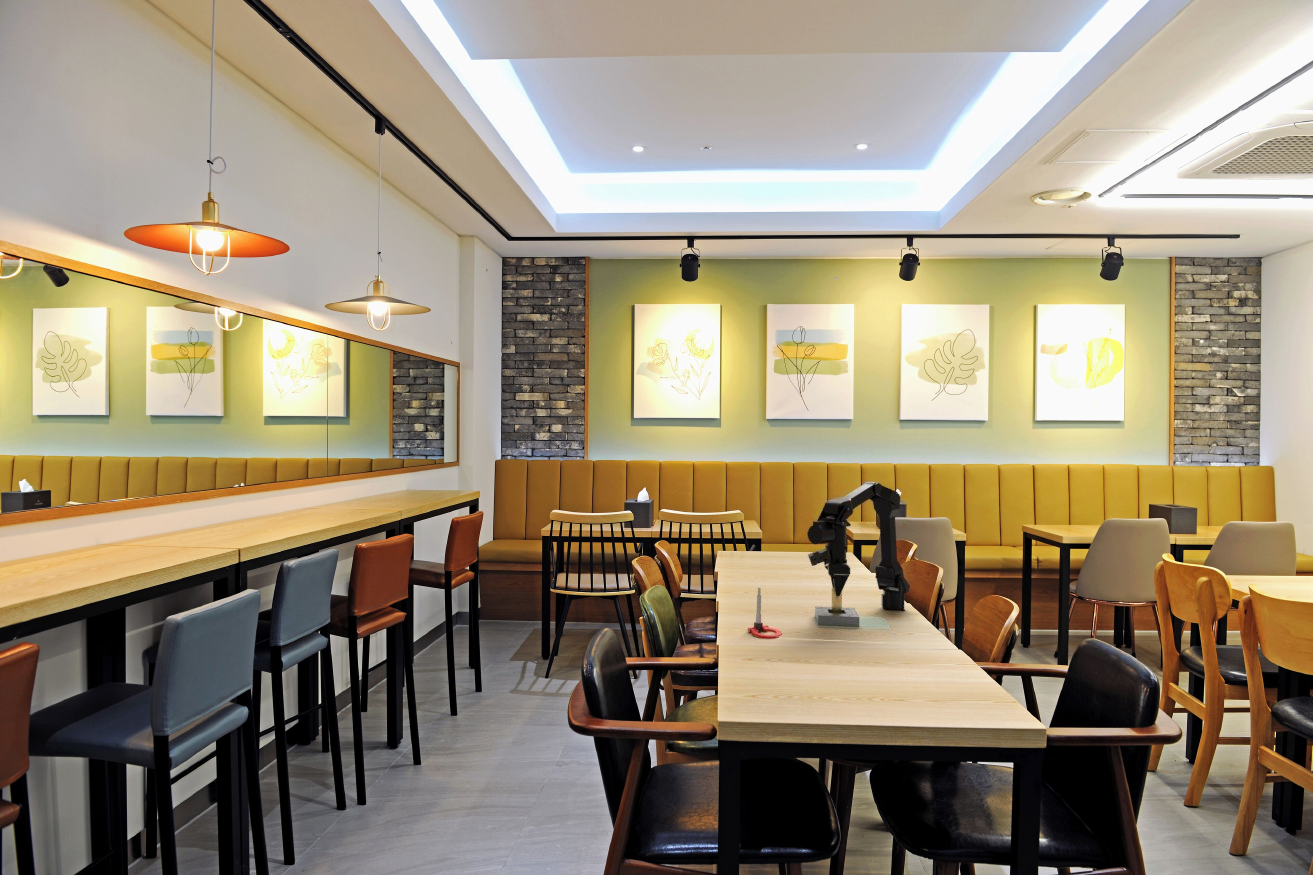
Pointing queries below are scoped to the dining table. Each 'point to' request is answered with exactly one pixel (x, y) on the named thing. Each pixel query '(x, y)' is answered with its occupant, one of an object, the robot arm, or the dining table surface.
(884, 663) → the dining table surface
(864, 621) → the mat
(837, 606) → the pin
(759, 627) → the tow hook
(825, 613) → the block
